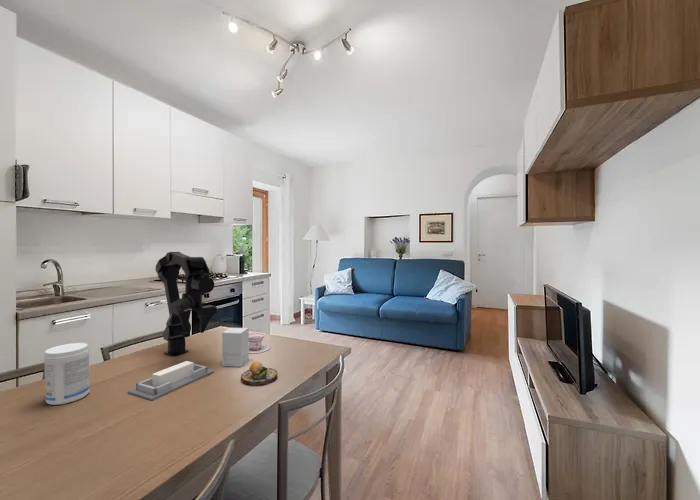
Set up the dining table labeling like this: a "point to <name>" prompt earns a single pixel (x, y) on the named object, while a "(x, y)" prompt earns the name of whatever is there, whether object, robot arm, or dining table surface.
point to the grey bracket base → (167, 384)
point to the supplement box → (235, 347)
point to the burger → (258, 375)
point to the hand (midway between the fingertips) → (193, 331)
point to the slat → (173, 374)
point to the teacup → (257, 343)
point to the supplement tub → (66, 373)
